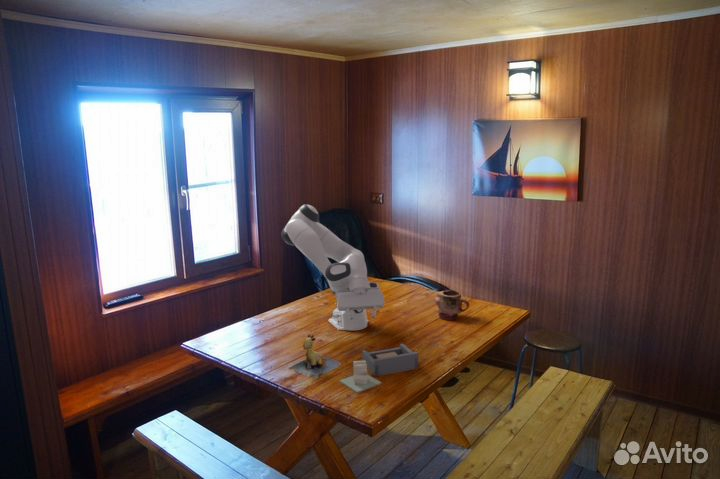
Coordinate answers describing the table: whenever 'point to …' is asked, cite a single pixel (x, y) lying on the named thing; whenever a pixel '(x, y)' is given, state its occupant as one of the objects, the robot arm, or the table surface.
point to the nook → (391, 360)
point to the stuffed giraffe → (314, 361)
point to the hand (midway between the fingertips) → (362, 318)
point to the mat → (361, 387)
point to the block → (360, 372)
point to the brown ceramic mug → (450, 304)
